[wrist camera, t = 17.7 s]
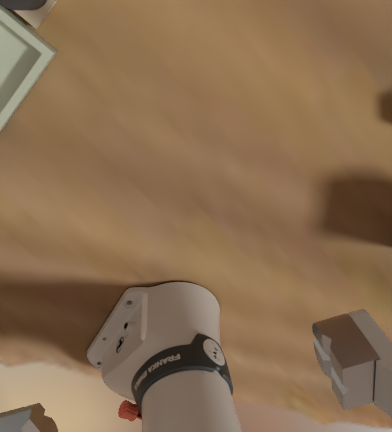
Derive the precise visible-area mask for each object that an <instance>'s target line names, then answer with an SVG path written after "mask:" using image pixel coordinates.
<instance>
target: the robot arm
mask: <svg viewBox="0 0 392 432" xmlns="http://www.w3.org/2000/svg"><path fill="white" fill-rule="evenodd" d="M128 301H131V302H128ZM219 317H220V308H219V304H218V302H217V300H216V298H215V297H214V296H213V294H212V293H211V292H209V291H208V290H207V289H205V288H203V287H201V286H199V285H196V284H192V283H187V282H171V283H165V284H161V285H157V286H154V287H132V288H129V289H127V290H126V291H125V292H124V294H123V295H122V297H121V299H120V300H119V302H118V303H117V305H116V306H115V308H114V309H113V311H112V312H111V314H110V316H109V317H108V319H107V320H106V322H105V323H104V325H103V326H102V328H101V330H100V331H99V333H98V334H97V336H96V337H95V339H94V340H93V342H92V343H91V345H90V347H89V348H88V350H87V358H88V360H89V361H90V363H91V364H92V365H93V366H94V367H96V368H97V369H98V370H100V371H101V372H102V378H103V381H104V383H105V384H106V385H107V386H108V387H109V388H110V389H111V390H112V391H114V392H116V393H117V394H119V395H121V396H123V397H126V398H128V399H130V400H133V401H135V402H136V404H137V405H136V404H132V403H130V402H129V401H127V400H125V401H123V402H122V404H121V405H120V408H119V412H118V414H119V417H120V418H124V419H128V420H129V421H134V420H135V419H136V418H139V419H141V420H142V432H242V429H241V426H240V423H239V420H238V416H237V413H236V410H235V406H234V403H233V399H232V394H233V386H232V382H231V378H230V374H229V370H228V366H227V362H226V359H225V357H224V354H223V352H222V349H221V344H220V333H219ZM312 328H313V333H314V335H315V337H316V340H315V341H314V349H315V353H316V356H317V360H318V362H319V364H320V366H321V368H322V370H323V372H324V374H325V375H326V376H328V377H330V378H331V379H332V389H333V391H334V393H335V395H336V397H337V398H338V400H339V402H340V404H341V406H342V408H343V409H344V410H347V409H351V408H354V407H358V406H362V405H366V404H370V403H373V402H374V404H375V405H376V406H377V407H379V408H380V409H381V410H383V411H384V412H386V413H387V414H388V415H390V416H391V417H392V342H391V341H390V340H389V338H388V337H387V336H386V335H385V333H384V332H383V331H382V329H381V328H380V327H379V326H378V324H377V323H376V322H375V321H374V319H373V318H372V317H371V316H370V314H369V313H368V312H367V311H366V310H364V309H360V310H357V311H354V312H350V313H347V314H342V315H339V316H335V317H332V318H329V319H326V320H322V321H319V322H316V323H313V326H312ZM44 411H45V409H44V408H43V406H42V405H41V404H40V403H37V404H34V405H30V406H27V407H22V408H18V409H15V410H10V411H7V412H3V413H0V432H58V429H57V426H56V424H55V422H54V421H53V419H52V418H50V417H47V416H44Z"/></svg>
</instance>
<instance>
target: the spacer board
mask: <svg viewBox="0 0 392 432" xmlns="http://www.w3.org/2000/svg"><path fill="white" fill-rule="evenodd" d="M56 1H57V0H0V5H1V6H3V7H5V8H7V9H10V10H14V11H15V12H16V13H17V14H19V15H20V16H21V17H22V18H23V19H25V20H26V21H27V22H28V23H29V24H31V25H32V26H33V27H34V28H35V29H38V28H39V26H40V25H41V24H42V22H43V21H44V19H45V18H46V16H47V15H48V13H49V12H50V10H51V9H52V7H53V6H54V4H55V3H56Z"/></svg>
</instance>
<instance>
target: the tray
mask: <svg viewBox="0 0 392 432" xmlns="http://www.w3.org/2000/svg"><path fill="white" fill-rule="evenodd" d="M57 52H58V51H57V50H56V49H54V48H53V47H52V46H51V45H49V44H48V43H47V42H46V41H45V40H43V39H42V38H41V37H40V36H39V35H37V34H36V33H35V32H34V31H33V30H31V29H30V28H29V27H28V26H27V25H25V24H24V23H23V22H22V21H21V20H19V19H18V18H17V17H16V16H15V15H13V14H12V13H11V12H10V11H9V10H7V9H6V8H5V7H3V6H1V5H0V132H1V130H2V129H3V128H4V126H5V125H6V123H7V122H8V121H9V119H10V118H11V116H12V115H13V114H14V112H15V111H16V109H17V108H18V107H19V105H20V104H21V102H22V101H23V100H24V98H25V97H26V95H27V94H28V92H29V91H30V90H31V88H32V87H33V85H34V84H35V83H36V81H37V80H38V78H39V77H40V76H41V74H42V73H43V71H44V70H45V69H46V67H47V66H48V64H49V63H50V62H51V60H52V59H53V57H54V56H55V55H56V53H57Z"/></svg>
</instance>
